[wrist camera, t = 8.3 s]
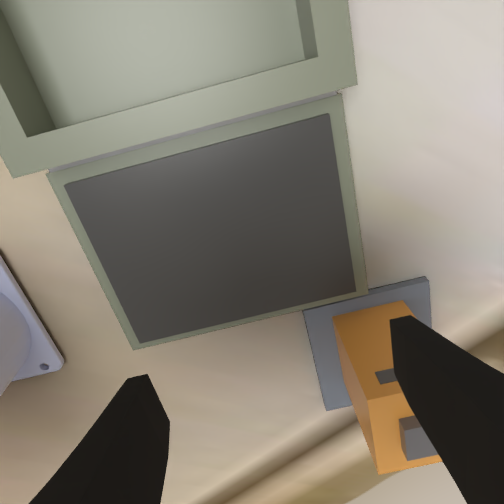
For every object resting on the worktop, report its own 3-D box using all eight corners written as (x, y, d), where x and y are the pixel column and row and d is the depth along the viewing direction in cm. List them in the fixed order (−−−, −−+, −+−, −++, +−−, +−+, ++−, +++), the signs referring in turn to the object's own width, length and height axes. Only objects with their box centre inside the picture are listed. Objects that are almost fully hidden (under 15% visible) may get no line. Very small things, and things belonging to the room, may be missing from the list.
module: (343, 381, 23) (383, 488, 17) (331, 315, 21) (372, 411, 15) (408, 367, 23) (470, 470, 17) (402, 299, 21) (471, 389, 15)
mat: (324, 404, 25) (326, 411, 24) (301, 306, 21) (303, 311, 21) (430, 381, 24) (434, 386, 24) (424, 276, 21) (429, 280, 20)
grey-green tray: (138, 336, 22) (122, 381, 18) (-85, -127, 13) (-187, -192, 10) (361, 282, 21) (384, 319, 18) (285, -247, 12) (305, -361, 9)
